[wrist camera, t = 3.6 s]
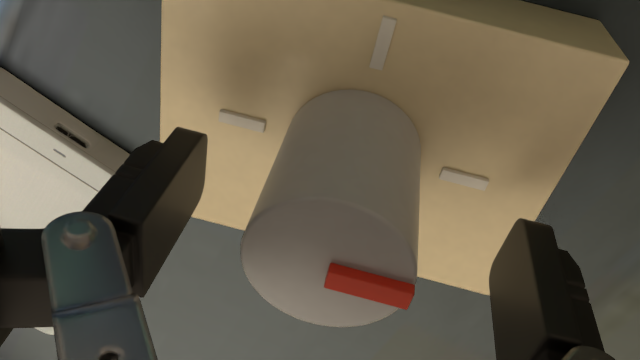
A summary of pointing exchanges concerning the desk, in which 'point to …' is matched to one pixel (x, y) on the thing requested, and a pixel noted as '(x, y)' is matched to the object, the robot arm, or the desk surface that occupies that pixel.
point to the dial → (339, 213)
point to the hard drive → (47, 160)
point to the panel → (395, 102)
